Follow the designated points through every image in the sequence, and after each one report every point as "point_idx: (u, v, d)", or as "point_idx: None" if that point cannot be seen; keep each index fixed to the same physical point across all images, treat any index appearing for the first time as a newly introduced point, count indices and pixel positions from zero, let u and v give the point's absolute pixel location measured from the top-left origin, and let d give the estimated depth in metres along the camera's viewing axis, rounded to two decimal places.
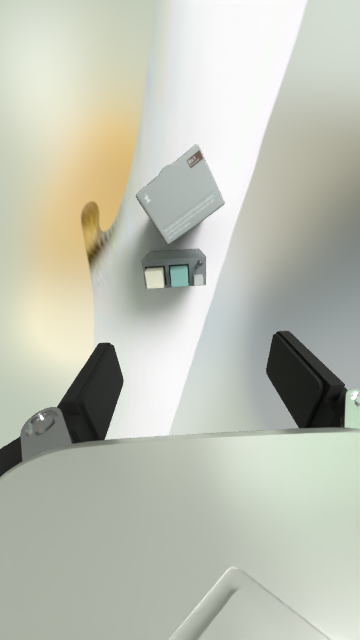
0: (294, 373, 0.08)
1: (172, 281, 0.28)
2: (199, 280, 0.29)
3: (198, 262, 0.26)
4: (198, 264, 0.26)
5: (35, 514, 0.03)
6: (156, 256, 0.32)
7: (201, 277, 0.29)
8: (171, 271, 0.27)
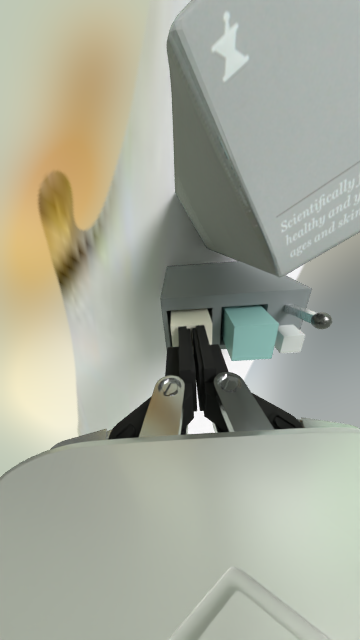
0: (196, 361, 0.10)
1: (235, 350, 0.12)
2: (294, 343, 0.12)
3: (322, 321, 0.09)
4: (320, 326, 0.09)
5: (35, 514, 0.03)
6: (187, 281, 0.15)
7: (300, 336, 0.12)
8: (237, 329, 0.11)
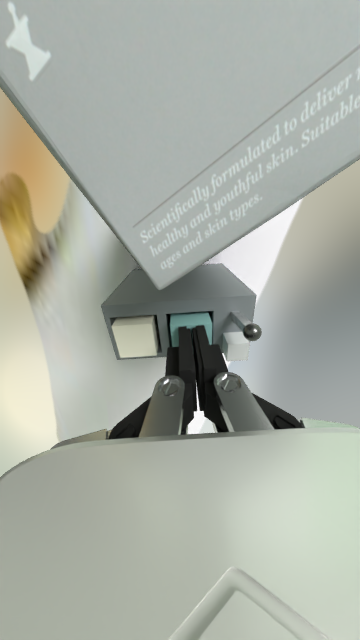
0: (196, 361, 0.10)
1: None
2: (239, 351, 0.12)
3: (250, 333, 0.09)
4: (249, 338, 0.09)
5: (35, 514, 0.03)
6: (140, 286, 0.15)
7: (245, 344, 0.12)
8: (173, 328, 0.11)
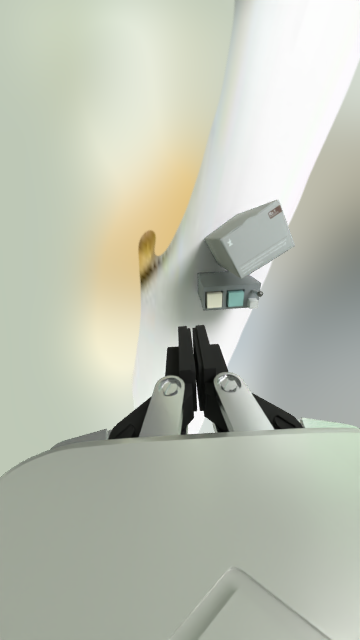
0: (196, 361, 0.10)
1: (229, 302, 0.33)
2: (254, 304, 0.32)
3: (259, 294, 0.29)
4: (259, 295, 0.29)
5: (35, 514, 0.03)
6: (211, 280, 0.35)
7: (256, 301, 0.32)
8: (230, 294, 0.32)
